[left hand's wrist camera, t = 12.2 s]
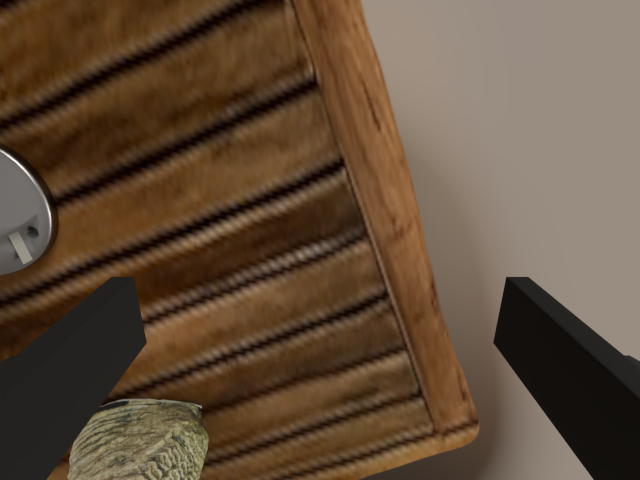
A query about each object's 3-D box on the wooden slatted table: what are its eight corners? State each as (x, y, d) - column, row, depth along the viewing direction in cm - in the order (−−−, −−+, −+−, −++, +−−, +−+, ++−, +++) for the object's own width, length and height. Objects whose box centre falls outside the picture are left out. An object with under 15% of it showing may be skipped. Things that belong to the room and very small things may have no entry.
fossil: (226, 427, 51) (191, 548, 37) (108, 452, 53) (31, 578, 39) (202, 378, 48) (154, 490, 34) (78, 407, 50) (-17, 526, 36)
